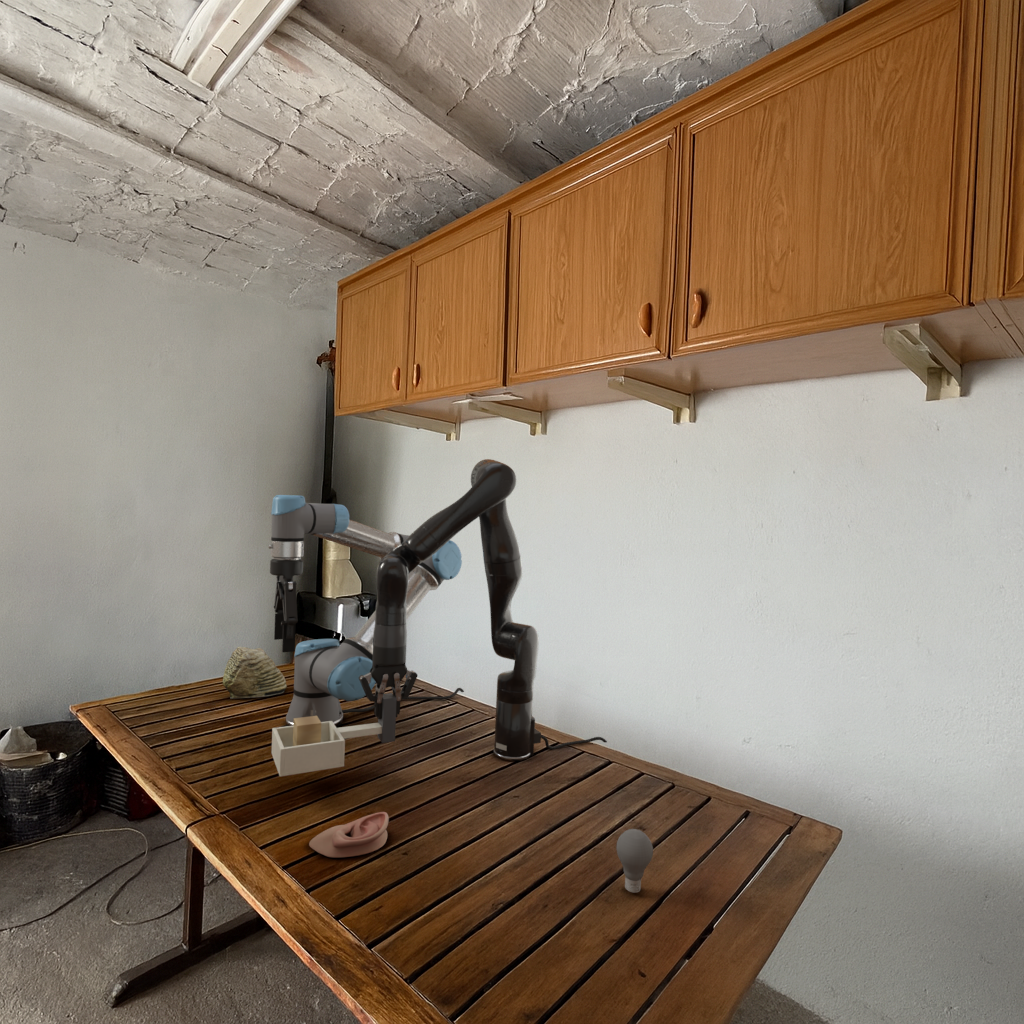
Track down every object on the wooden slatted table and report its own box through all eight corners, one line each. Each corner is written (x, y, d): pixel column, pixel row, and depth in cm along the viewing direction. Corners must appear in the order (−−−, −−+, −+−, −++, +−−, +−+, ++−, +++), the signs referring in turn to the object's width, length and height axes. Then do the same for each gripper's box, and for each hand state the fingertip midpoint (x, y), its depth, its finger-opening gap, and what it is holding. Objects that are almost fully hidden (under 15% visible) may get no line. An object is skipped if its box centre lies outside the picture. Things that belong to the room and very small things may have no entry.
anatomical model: (300, 830, 112) (331, 801, 124) (300, 852, 112) (331, 821, 124) (370, 841, 110) (395, 810, 121) (369, 864, 110) (395, 831, 121)
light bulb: (610, 879, 108) (613, 822, 108) (644, 879, 109) (647, 822, 109) (619, 902, 102) (622, 840, 102) (655, 901, 103) (658, 840, 103)
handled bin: (384, 737, 152) (385, 687, 152) (400, 757, 140) (402, 703, 140) (271, 753, 140) (273, 699, 140) (279, 776, 129) (281, 718, 128)
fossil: (218, 695, 195) (220, 647, 195) (278, 685, 208) (279, 640, 207) (228, 703, 189) (230, 653, 188) (289, 692, 201) (290, 645, 201)
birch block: (315, 751, 141) (317, 715, 140) (320, 759, 136) (321, 722, 136) (292, 754, 138) (293, 718, 138) (296, 763, 134) (297, 725, 134)
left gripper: (264, 553, 163) (261, 635, 164) (277, 564, 141) (274, 658, 142) (294, 553, 167) (291, 633, 167) (312, 563, 145) (309, 656, 145)
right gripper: (363, 648, 139) (360, 726, 139) (424, 643, 145) (421, 718, 145) (355, 641, 145) (352, 715, 146) (413, 637, 152) (411, 708, 152)
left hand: (284, 645), depth 154 cm, fingers open, 13 cm apart
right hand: (387, 716), depth 145 cm, fingers closed on handled bin, 3 cm apart
